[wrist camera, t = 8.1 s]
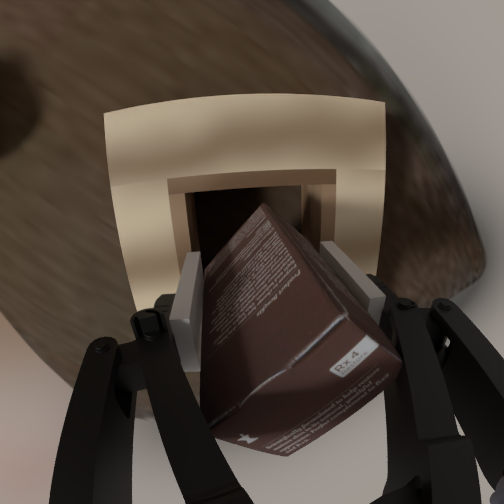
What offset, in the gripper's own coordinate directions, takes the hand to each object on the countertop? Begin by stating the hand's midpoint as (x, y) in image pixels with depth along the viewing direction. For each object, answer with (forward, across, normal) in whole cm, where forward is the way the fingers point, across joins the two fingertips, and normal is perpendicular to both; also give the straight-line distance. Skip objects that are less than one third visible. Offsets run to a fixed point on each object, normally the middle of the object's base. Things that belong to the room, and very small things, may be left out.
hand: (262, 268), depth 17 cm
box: (+2, 0, 0) cm, 2 cm away
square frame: (+7, 0, 0) cm, 7 cm away
